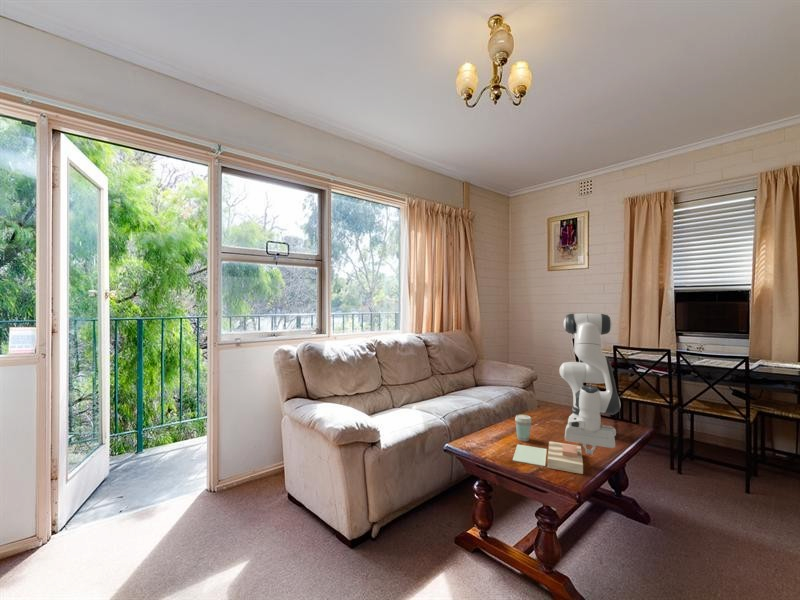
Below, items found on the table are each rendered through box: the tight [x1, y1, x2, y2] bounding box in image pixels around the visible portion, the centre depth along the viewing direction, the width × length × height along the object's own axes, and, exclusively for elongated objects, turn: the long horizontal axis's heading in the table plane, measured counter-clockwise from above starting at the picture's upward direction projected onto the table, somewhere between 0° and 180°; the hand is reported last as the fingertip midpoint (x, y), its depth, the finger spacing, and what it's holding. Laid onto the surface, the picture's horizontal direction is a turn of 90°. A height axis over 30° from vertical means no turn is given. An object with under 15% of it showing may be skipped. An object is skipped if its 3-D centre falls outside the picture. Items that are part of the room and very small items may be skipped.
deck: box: [547, 441, 584, 475], centre depth 170 cm, size 22×14×4 cm, turn 156°
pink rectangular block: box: [563, 443, 577, 458], centre depth 169 cm, size 9×6×2 cm, turn 156°
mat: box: [511, 443, 548, 467], centre depth 176 cm, size 20×14×1 cm
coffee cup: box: [514, 414, 533, 442], centre depth 195 cm, size 8×9×12 cm
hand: (589, 453), depth 166 cm, fingers closed
